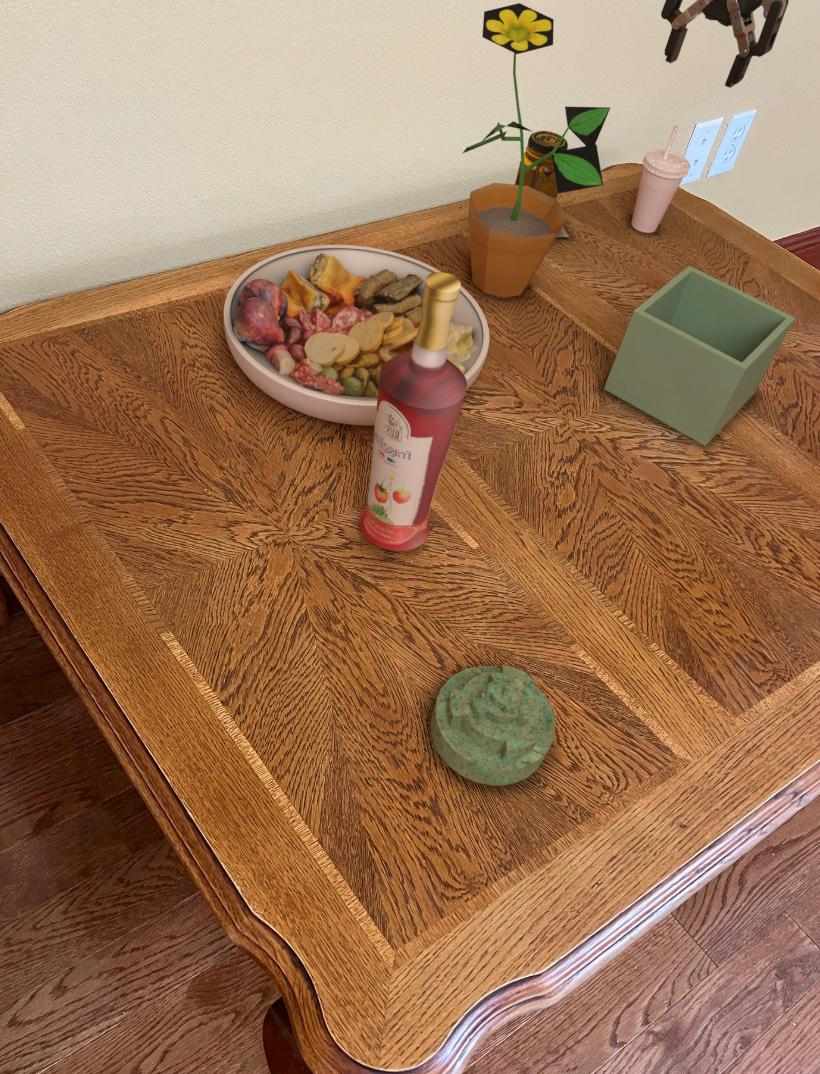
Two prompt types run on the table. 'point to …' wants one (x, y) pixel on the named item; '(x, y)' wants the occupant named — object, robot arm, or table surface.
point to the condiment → (542, 165)
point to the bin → (696, 353)
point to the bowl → (338, 327)
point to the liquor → (414, 425)
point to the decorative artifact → (492, 725)
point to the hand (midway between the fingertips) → (699, 73)
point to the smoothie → (658, 186)
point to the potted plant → (516, 210)
